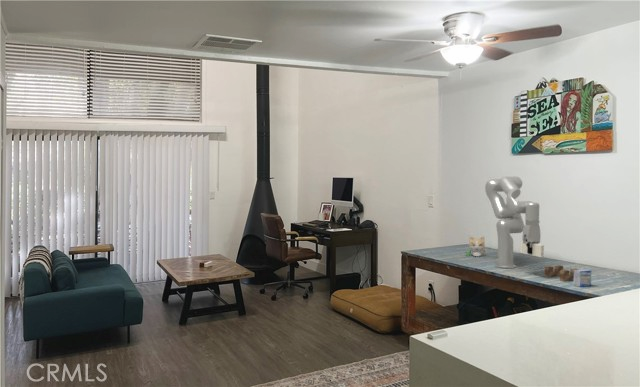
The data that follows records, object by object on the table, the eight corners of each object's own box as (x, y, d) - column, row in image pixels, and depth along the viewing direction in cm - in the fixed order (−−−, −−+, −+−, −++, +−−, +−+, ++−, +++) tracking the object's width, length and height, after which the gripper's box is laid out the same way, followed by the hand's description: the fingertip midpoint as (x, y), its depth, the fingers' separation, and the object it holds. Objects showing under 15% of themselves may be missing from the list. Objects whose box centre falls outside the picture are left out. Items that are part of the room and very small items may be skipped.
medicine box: (579, 287, 254) (579, 271, 253) (573, 285, 258) (573, 269, 258) (591, 286, 256) (591, 270, 256) (584, 284, 260) (585, 268, 260)
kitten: (465, 257, 349) (465, 237, 349) (465, 254, 359) (465, 235, 358) (487, 257, 345) (487, 237, 344) (486, 255, 354) (486, 235, 353)
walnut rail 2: (563, 281, 267) (563, 271, 267) (560, 280, 269) (560, 270, 269) (579, 279, 271) (579, 269, 271) (575, 278, 274) (575, 268, 273)
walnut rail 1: (547, 277, 277) (548, 267, 277) (544, 276, 280) (544, 266, 279) (563, 275, 282) (563, 265, 281) (559, 275, 284) (559, 265, 284)
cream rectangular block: (520, 252, 289) (520, 241, 289) (522, 252, 290) (523, 240, 290) (540, 257, 275) (541, 245, 274) (543, 257, 275) (543, 245, 275)
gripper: (537, 221, 288) (536, 251, 289) (517, 223, 282) (516, 253, 283) (547, 223, 281) (546, 253, 282) (526, 224, 275) (526, 255, 276)
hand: (531, 253), depth 282 cm, fingers closed on cream rectangular block, 2 cm apart
